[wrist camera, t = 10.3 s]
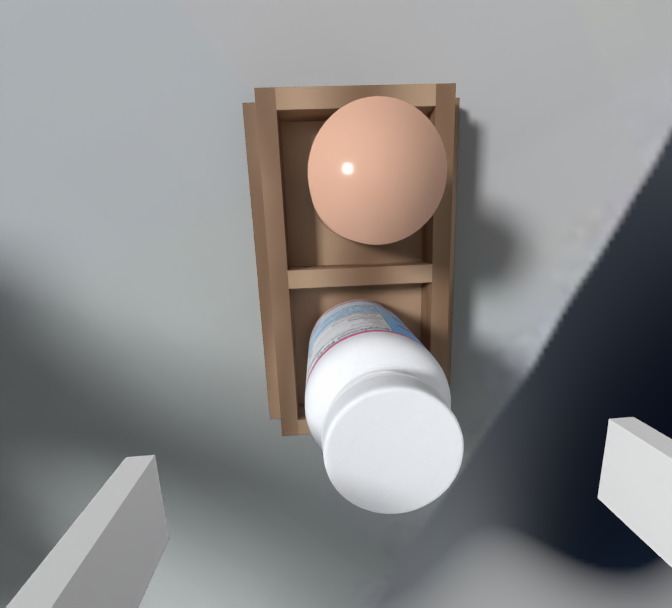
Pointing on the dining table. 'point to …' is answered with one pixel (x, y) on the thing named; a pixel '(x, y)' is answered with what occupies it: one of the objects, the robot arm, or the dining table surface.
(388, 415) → the pill bottle
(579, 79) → the dining table surface
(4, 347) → the dining table surface
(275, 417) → the rack
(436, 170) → the peach capsule shape
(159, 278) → the dining table surface
